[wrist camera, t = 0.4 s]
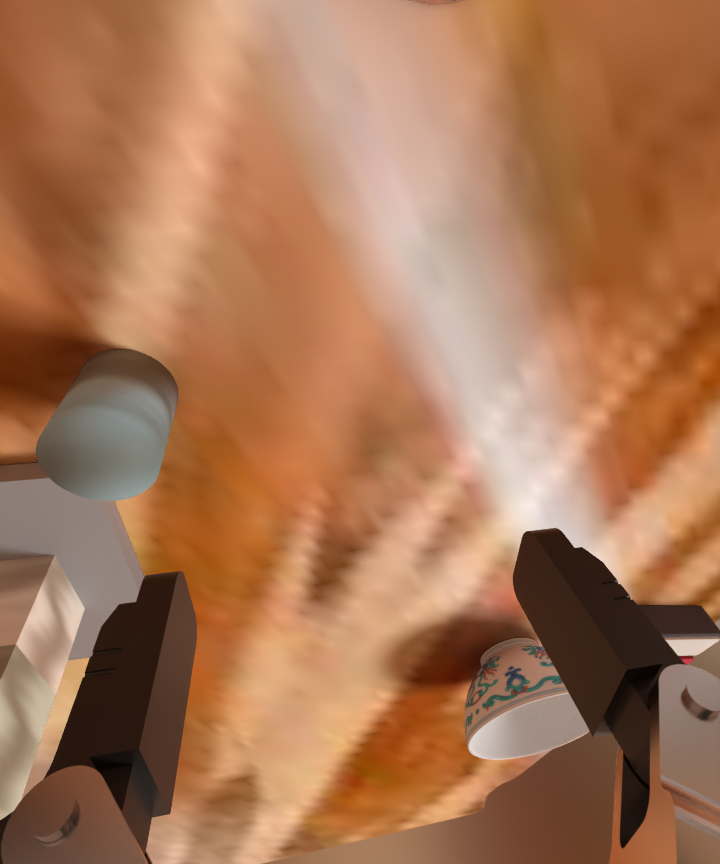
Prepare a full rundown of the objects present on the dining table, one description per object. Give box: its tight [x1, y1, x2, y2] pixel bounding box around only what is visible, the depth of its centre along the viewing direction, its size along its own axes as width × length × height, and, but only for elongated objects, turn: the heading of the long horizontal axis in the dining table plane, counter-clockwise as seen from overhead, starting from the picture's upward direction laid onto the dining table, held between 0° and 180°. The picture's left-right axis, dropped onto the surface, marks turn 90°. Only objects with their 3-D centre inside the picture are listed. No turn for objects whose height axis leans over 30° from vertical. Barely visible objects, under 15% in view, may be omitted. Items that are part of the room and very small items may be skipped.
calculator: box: [638, 605, 720, 665], centre depth 55 cm, size 11×4×15 cm
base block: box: [0, 555, 85, 695], centre depth 29 cm, size 6×6×6 cm
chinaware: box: [465, 638, 590, 760], centre depth 50 cm, size 15×15×8 cm
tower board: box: [0, 463, 144, 660], centre depth 32 cm, size 19×14×2 cm
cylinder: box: [36, 349, 178, 501], centre depth 23 cm, size 5×5×6 cm
